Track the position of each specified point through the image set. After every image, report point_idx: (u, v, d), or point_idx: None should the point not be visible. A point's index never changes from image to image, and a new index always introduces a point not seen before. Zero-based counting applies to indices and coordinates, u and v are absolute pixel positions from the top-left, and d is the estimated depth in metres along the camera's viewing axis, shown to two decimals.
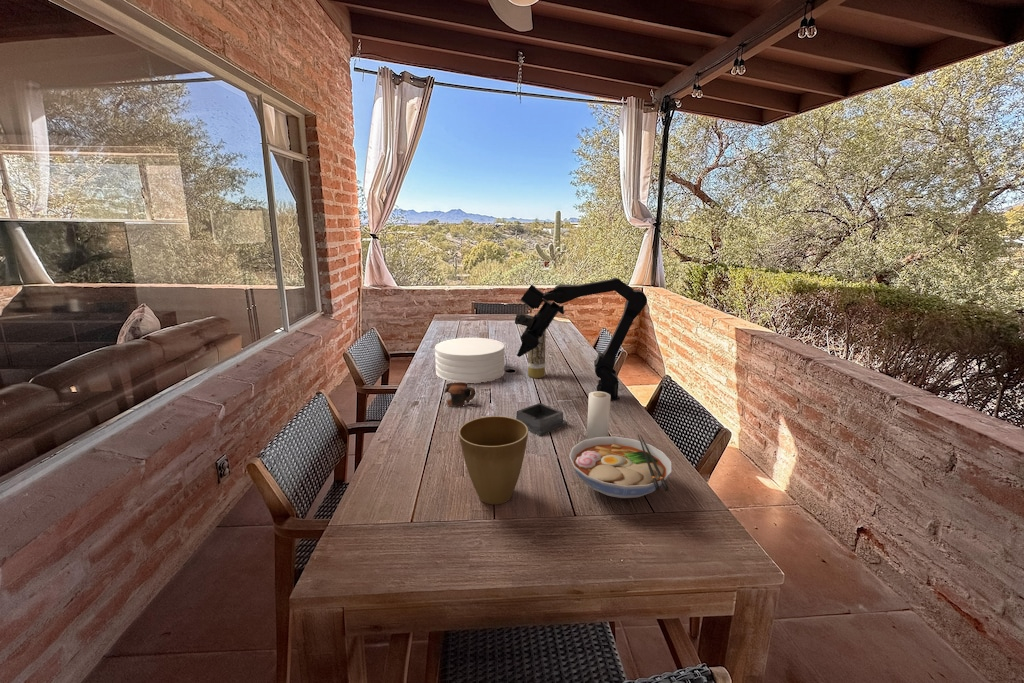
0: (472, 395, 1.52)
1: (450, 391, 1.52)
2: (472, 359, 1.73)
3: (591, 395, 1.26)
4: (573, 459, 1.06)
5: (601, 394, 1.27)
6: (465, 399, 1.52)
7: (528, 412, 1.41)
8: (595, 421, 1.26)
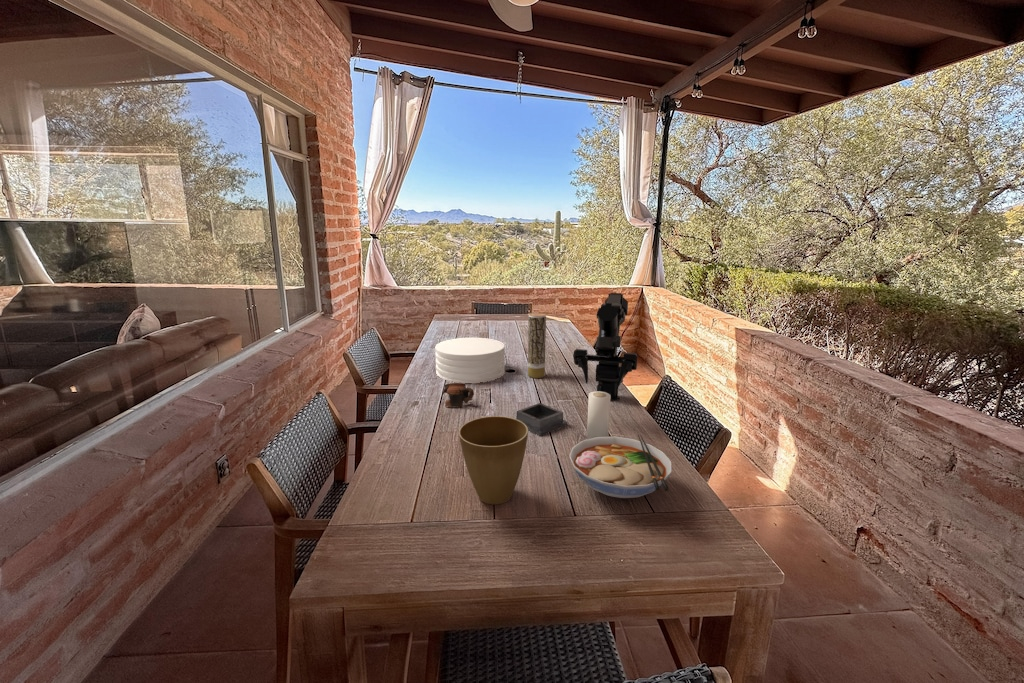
0: (470, 396, 1.51)
1: (448, 392, 1.52)
2: (472, 359, 1.73)
3: (591, 395, 1.26)
4: (573, 459, 1.06)
5: (601, 394, 1.27)
6: (463, 400, 1.52)
7: (528, 412, 1.41)
8: (595, 421, 1.26)
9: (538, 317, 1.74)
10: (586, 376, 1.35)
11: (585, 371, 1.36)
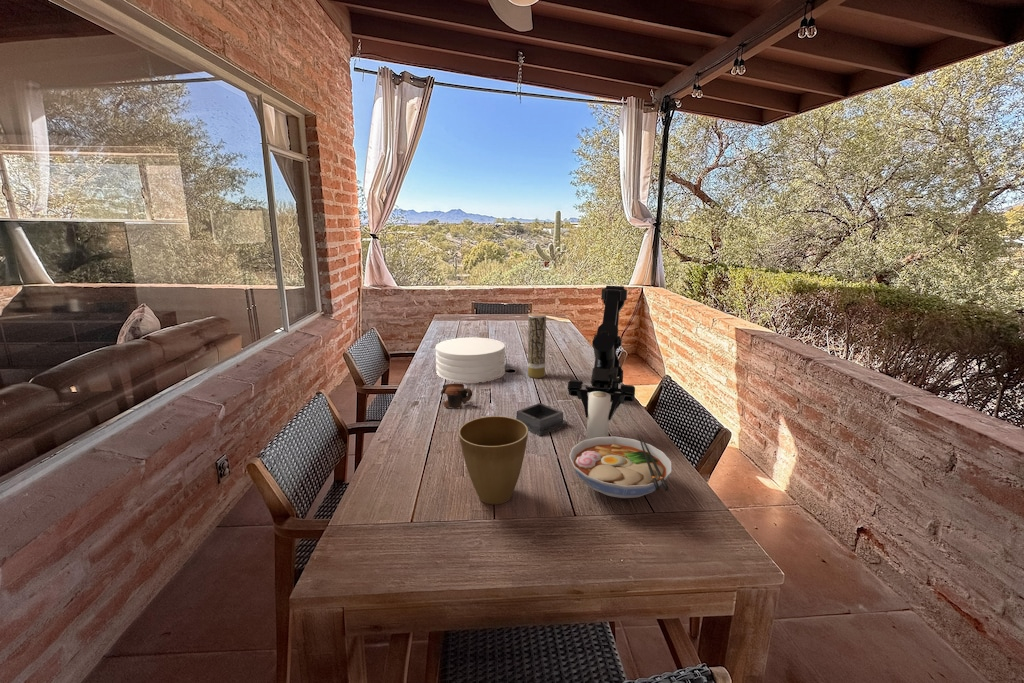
0: (469, 396, 1.51)
1: (447, 392, 1.51)
2: (473, 359, 1.73)
3: (591, 395, 1.26)
4: (573, 459, 1.06)
5: (601, 394, 1.27)
6: (462, 400, 1.51)
7: (528, 412, 1.41)
8: (595, 421, 1.26)
9: (538, 317, 1.74)
10: (586, 410, 1.28)
11: (585, 404, 1.28)
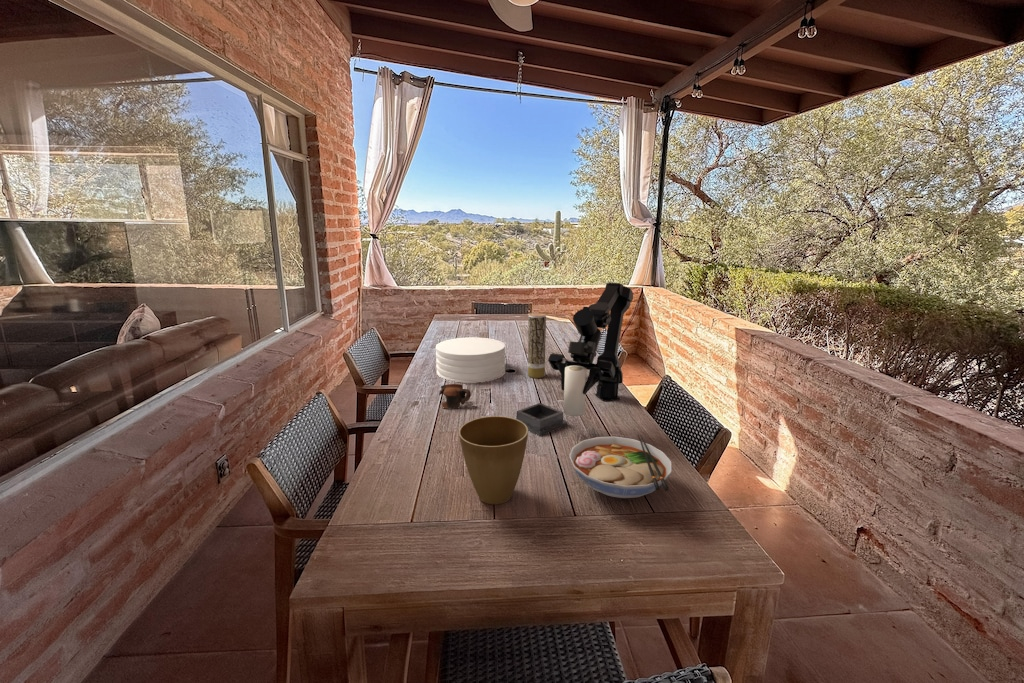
0: (467, 397, 1.50)
1: (445, 393, 1.50)
2: (473, 359, 1.73)
3: (567, 368, 1.27)
4: (573, 459, 1.06)
5: (577, 368, 1.27)
6: (460, 401, 1.51)
7: (528, 412, 1.41)
8: (569, 394, 1.27)
9: (538, 317, 1.74)
10: (563, 383, 1.29)
11: (562, 377, 1.30)
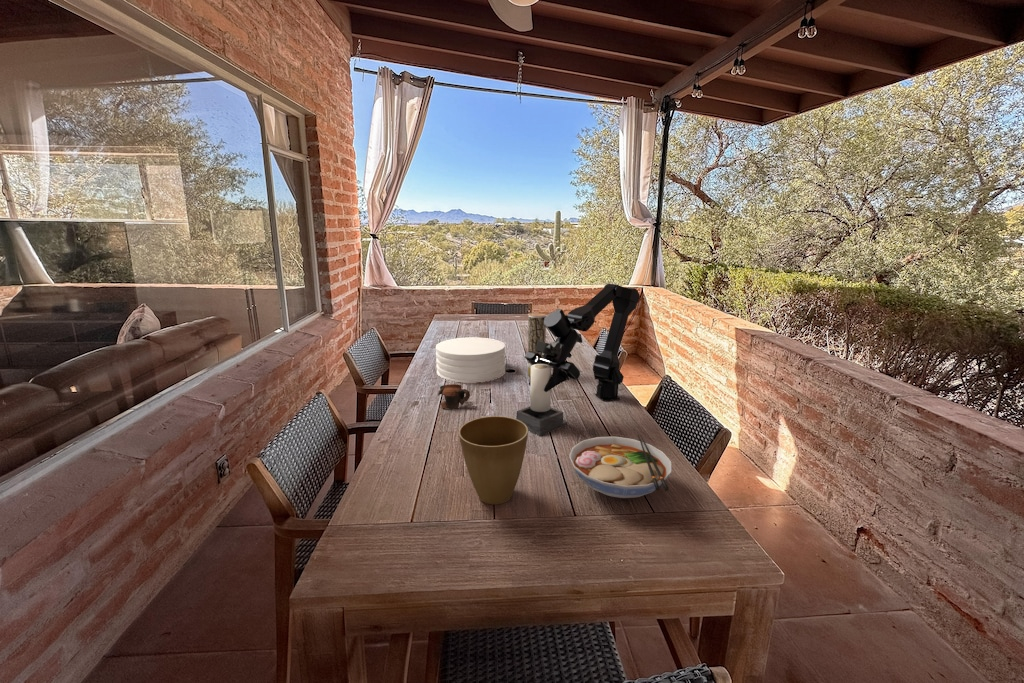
0: (466, 397, 1.50)
1: (444, 393, 1.50)
2: (473, 359, 1.73)
3: (533, 365, 1.35)
4: (573, 459, 1.06)
5: (542, 366, 1.34)
6: (459, 401, 1.50)
7: (528, 412, 1.41)
8: (532, 390, 1.34)
9: (538, 317, 1.74)
10: None
11: None
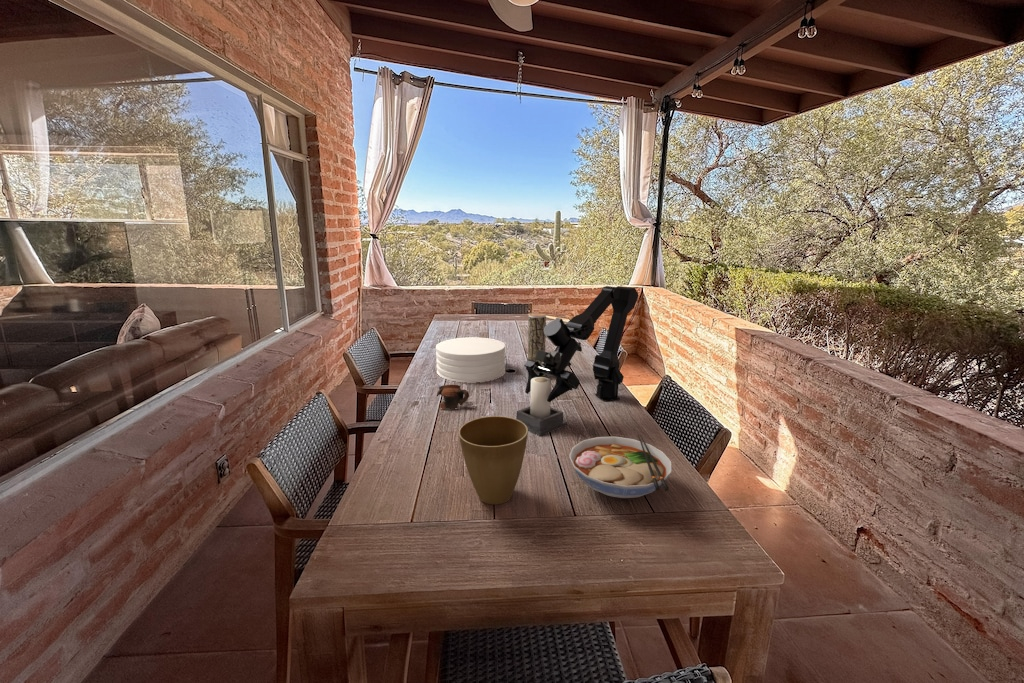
0: (465, 397, 1.50)
1: (443, 394, 1.50)
2: (473, 359, 1.74)
3: (533, 379, 1.36)
4: (573, 459, 1.06)
5: (542, 380, 1.35)
6: (458, 402, 1.50)
7: (528, 412, 1.41)
8: (532, 403, 1.35)
9: (538, 317, 1.74)
10: (527, 386, 1.39)
11: (528, 381, 1.40)
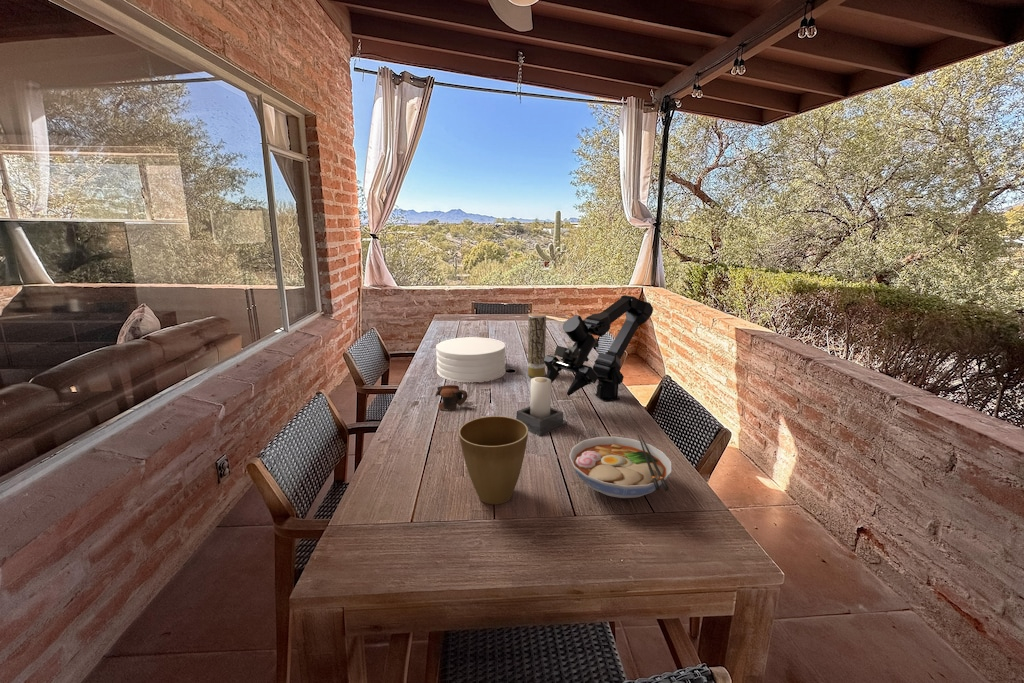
0: (464, 398, 1.49)
1: (442, 394, 1.49)
2: (473, 358, 1.74)
3: (533, 379, 1.36)
4: (573, 459, 1.06)
5: (542, 380, 1.35)
6: (457, 402, 1.50)
7: (528, 412, 1.41)
8: (532, 403, 1.35)
9: (538, 317, 1.74)
10: None
11: (547, 376, 1.45)
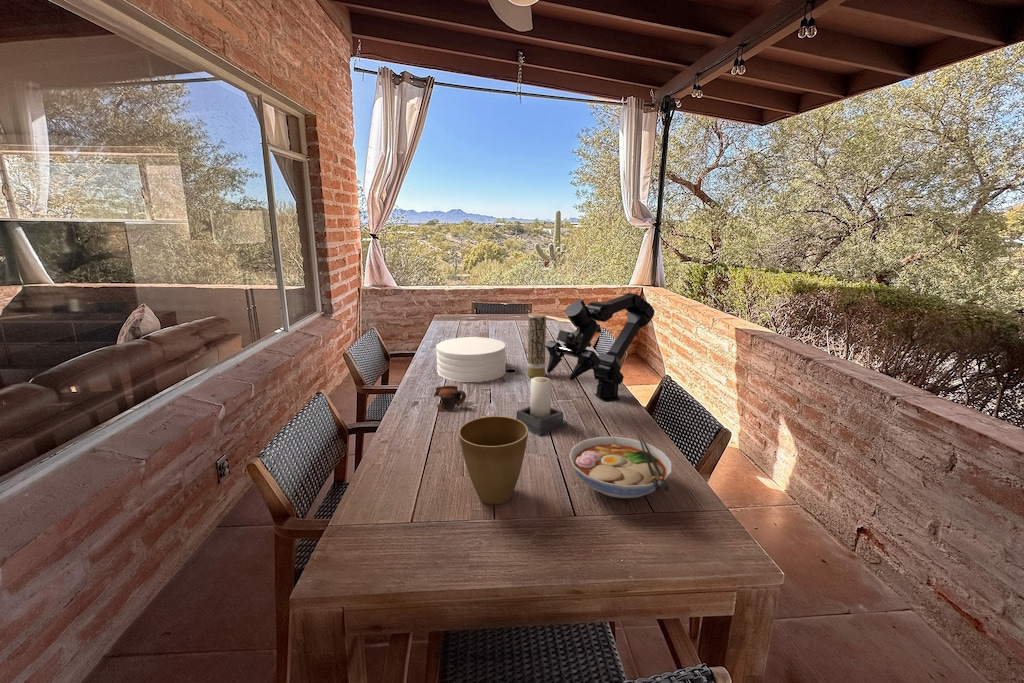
0: (463, 398, 1.49)
1: (440, 395, 1.49)
2: (473, 358, 1.74)
3: (533, 379, 1.37)
4: (573, 459, 1.06)
5: (542, 379, 1.35)
6: (456, 403, 1.49)
7: (528, 412, 1.41)
8: (532, 403, 1.36)
9: (538, 317, 1.74)
10: (549, 366, 1.44)
11: (550, 361, 1.45)
